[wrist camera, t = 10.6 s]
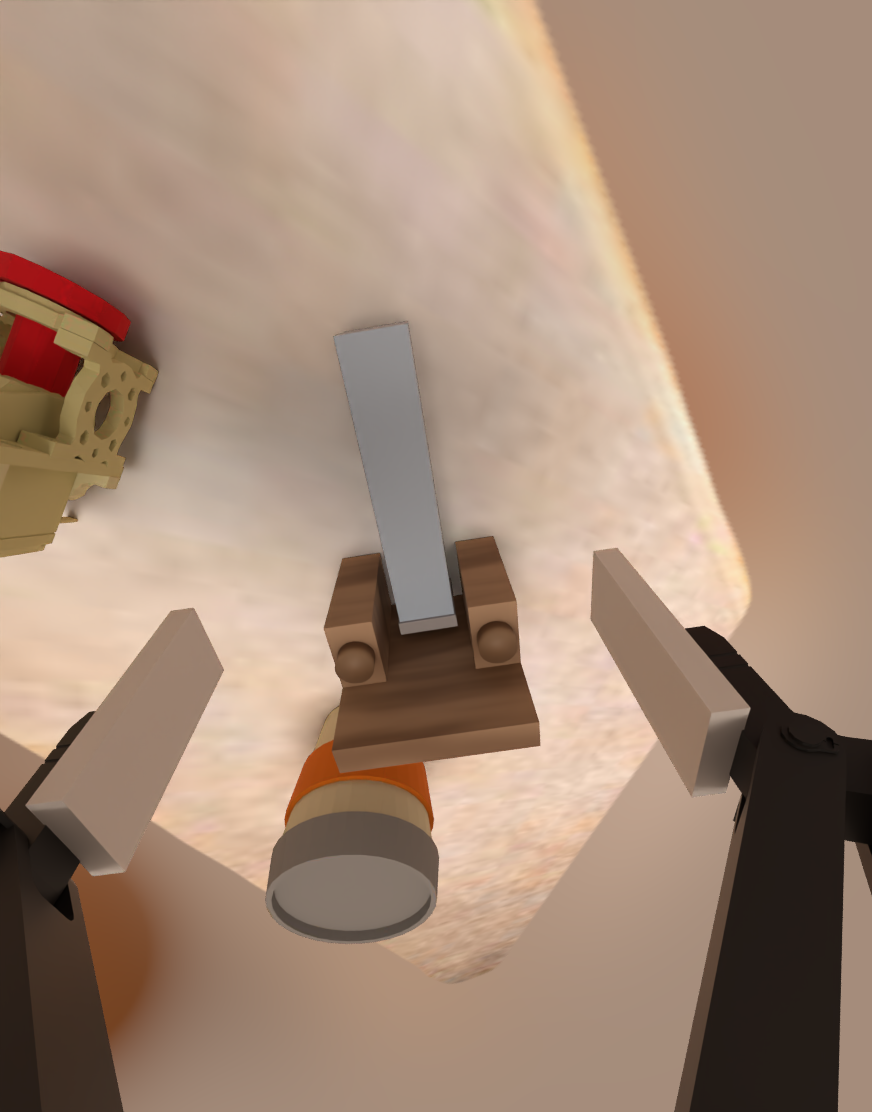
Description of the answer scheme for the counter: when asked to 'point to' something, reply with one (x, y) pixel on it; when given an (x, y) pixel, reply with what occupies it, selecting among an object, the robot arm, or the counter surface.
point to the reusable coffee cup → (354, 851)
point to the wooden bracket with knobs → (428, 669)
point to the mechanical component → (58, 399)
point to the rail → (398, 471)
